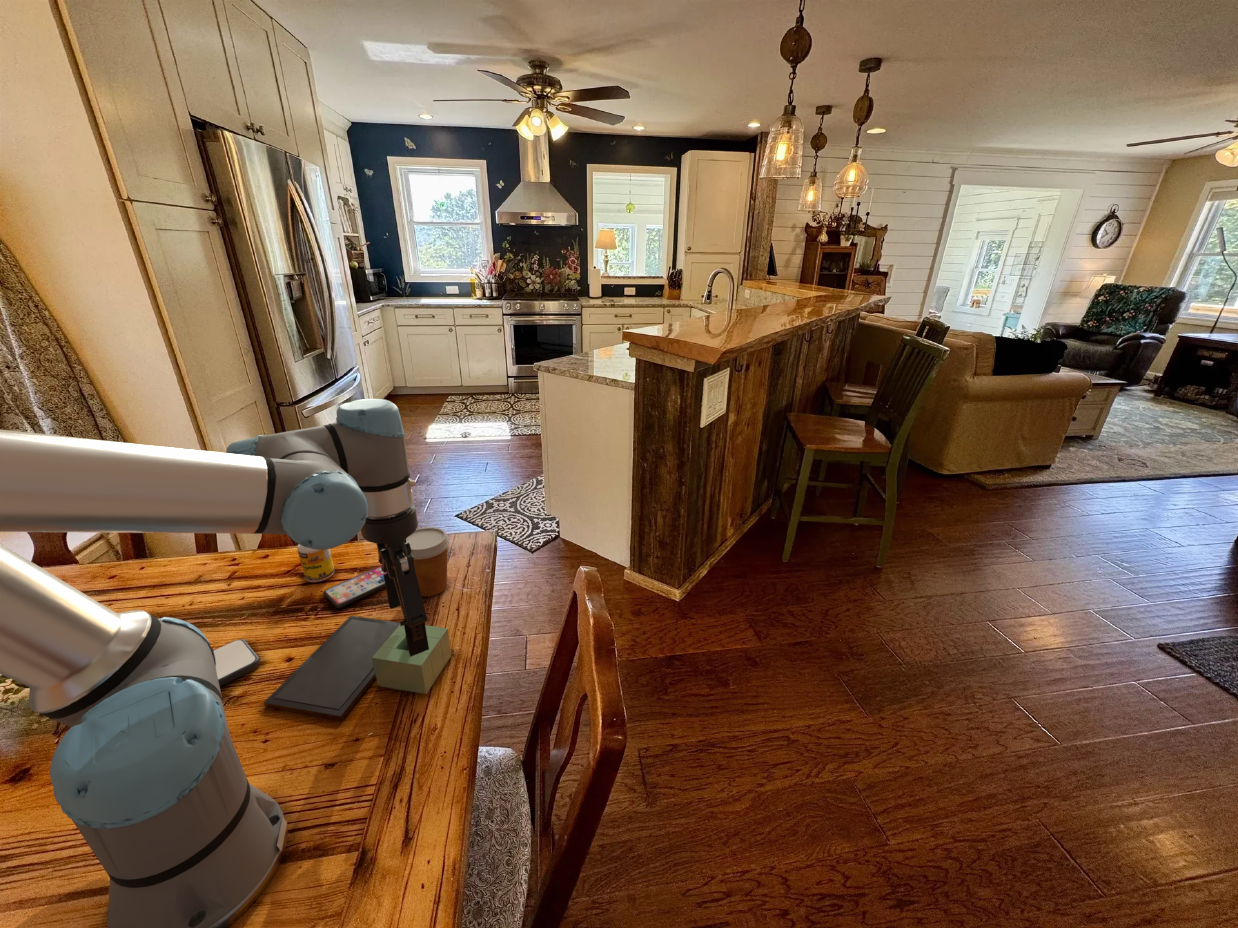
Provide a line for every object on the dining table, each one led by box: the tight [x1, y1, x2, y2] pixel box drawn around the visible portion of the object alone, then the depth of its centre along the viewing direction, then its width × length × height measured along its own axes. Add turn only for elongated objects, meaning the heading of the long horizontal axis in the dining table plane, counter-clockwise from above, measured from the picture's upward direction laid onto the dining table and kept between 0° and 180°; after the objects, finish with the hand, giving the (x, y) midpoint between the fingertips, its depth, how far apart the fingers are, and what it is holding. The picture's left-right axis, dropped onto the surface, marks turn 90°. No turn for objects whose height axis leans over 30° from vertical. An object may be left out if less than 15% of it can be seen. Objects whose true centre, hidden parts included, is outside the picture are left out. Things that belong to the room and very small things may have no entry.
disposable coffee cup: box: [406, 526, 450, 597], centre depth 100 cm, size 10×10×12 cm
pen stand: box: [372, 624, 452, 695], centre depth 81 cm, size 8×8×6 cm
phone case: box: [213, 638, 261, 688], centre depth 79 cm, size 9×2×16 cm
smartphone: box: [323, 564, 386, 609], centre depth 102 cm, size 8×1×15 cm
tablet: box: [263, 615, 400, 722], centre depth 83 cm, size 20×13×1 cm, turn 170°
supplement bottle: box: [296, 544, 335, 583], centre depth 103 cm, size 6×6×10 cm
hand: (408, 626), depth 79 cm, fingers open, 12 cm apart
